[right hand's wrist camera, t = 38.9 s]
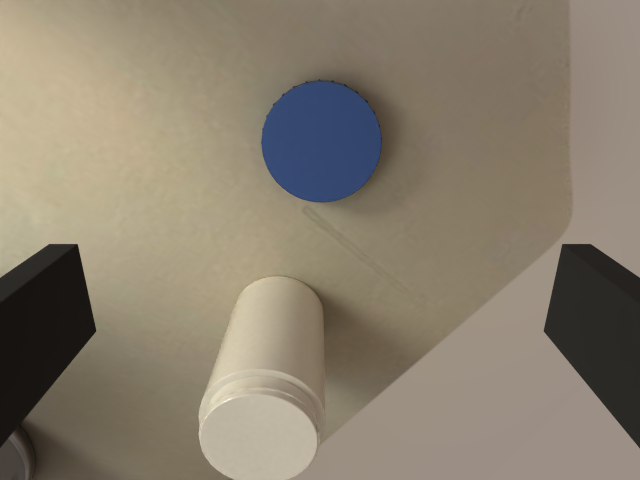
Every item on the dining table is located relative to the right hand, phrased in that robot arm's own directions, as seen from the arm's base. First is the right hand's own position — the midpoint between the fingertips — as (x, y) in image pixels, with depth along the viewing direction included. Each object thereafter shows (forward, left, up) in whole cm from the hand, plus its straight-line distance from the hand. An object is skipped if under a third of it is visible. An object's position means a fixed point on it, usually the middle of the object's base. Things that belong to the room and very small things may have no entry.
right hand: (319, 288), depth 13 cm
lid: (0, 0, -24) cm, 24 cm away
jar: (-8, -15, -26) cm, 31 cm away
